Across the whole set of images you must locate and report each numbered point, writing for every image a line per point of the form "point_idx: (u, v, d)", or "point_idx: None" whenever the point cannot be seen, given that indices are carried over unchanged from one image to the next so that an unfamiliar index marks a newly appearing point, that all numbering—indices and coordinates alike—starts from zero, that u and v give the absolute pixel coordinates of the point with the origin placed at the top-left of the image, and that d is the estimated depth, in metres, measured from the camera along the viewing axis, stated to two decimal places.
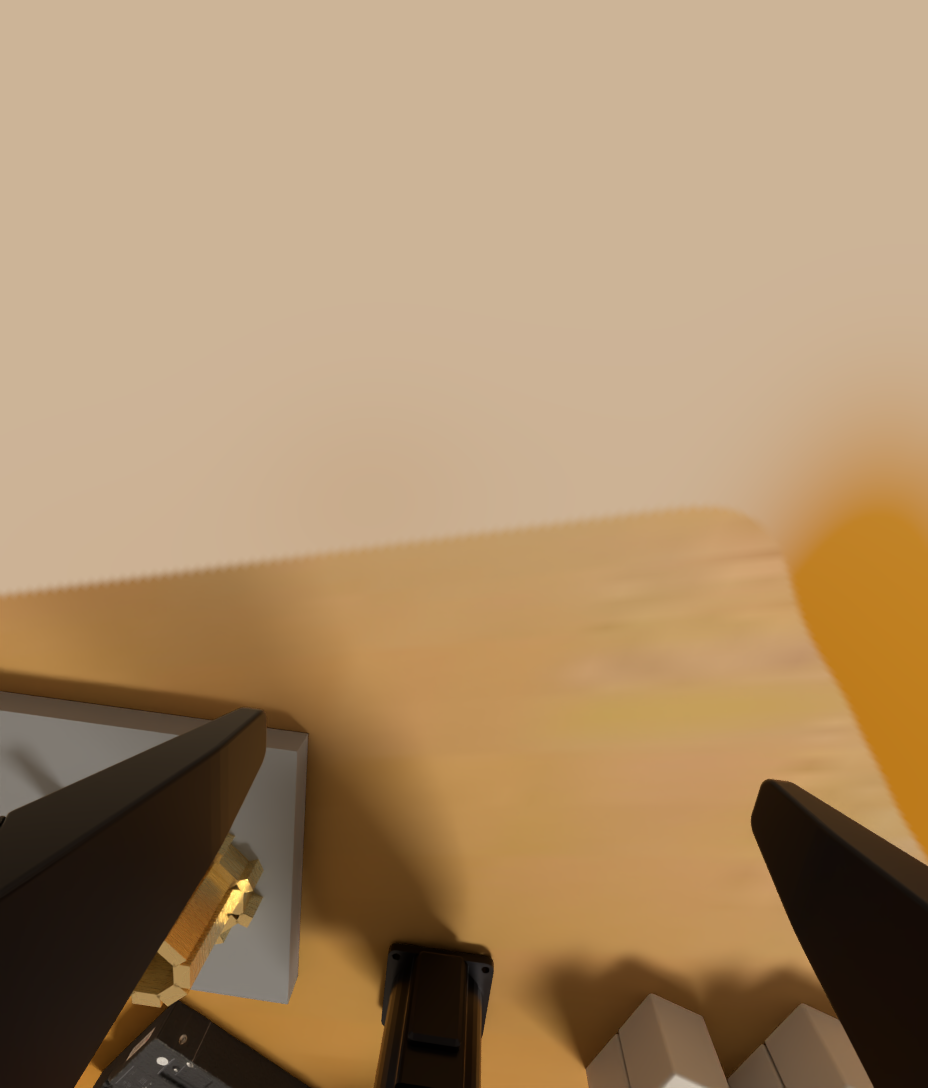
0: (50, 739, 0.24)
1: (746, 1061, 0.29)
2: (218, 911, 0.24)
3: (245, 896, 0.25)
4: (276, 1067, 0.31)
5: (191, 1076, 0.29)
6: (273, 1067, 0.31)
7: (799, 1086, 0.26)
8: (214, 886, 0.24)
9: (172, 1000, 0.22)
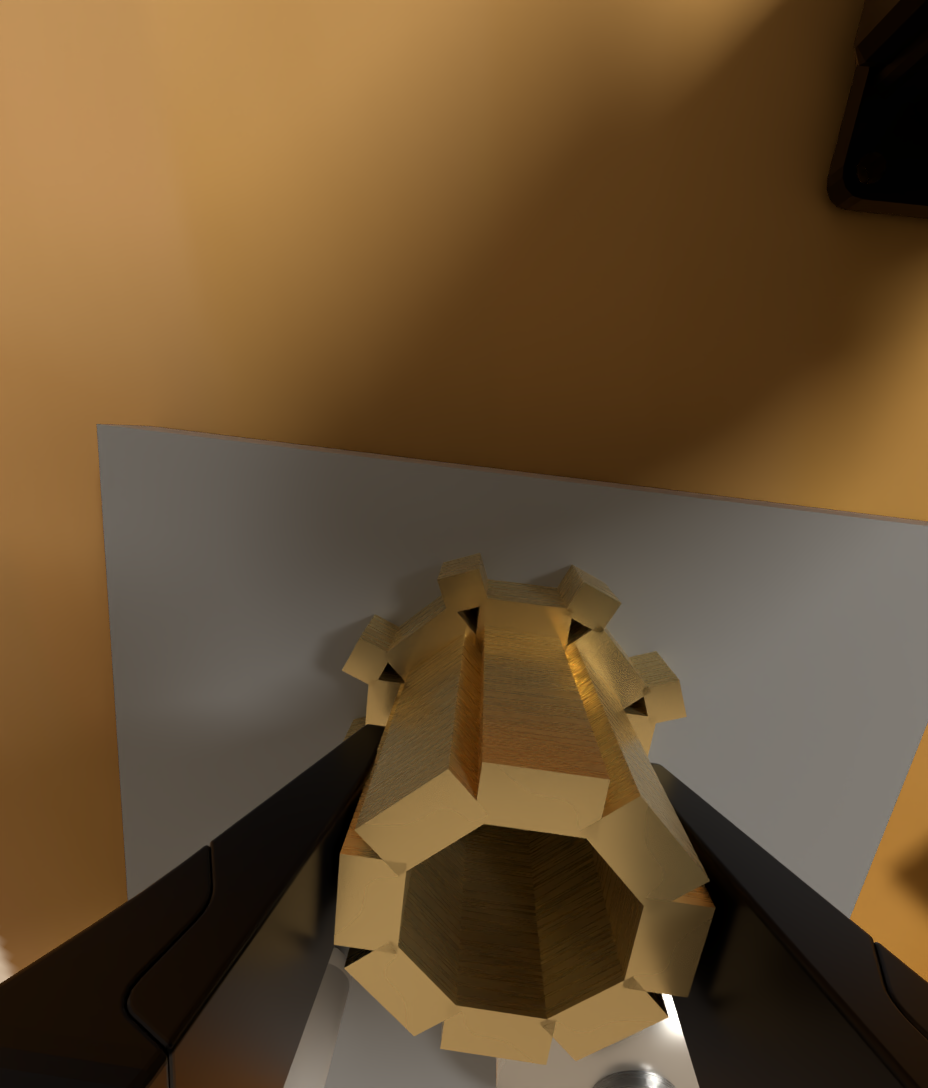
0: None
1: None
2: (484, 662, 0.07)
3: (512, 597, 0.09)
4: None
5: None
6: None
7: None
8: (431, 668, 0.08)
9: (674, 858, 0.05)
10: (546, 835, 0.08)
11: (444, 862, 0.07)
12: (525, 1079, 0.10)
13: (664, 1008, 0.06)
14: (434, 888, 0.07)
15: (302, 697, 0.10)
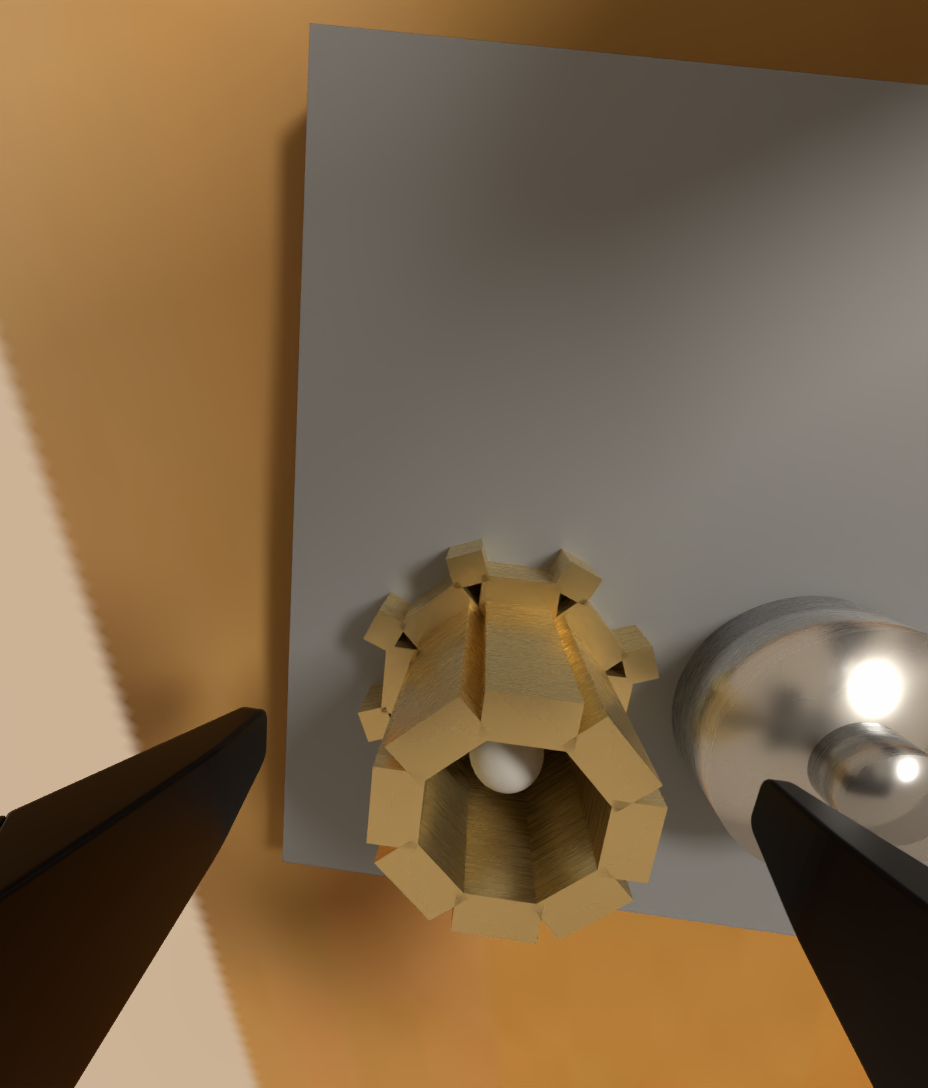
0: (342, 666, 0.12)
1: None
2: (485, 627, 0.09)
3: (510, 576, 0.10)
4: None
5: None
6: None
7: None
8: (441, 634, 0.10)
9: (635, 766, 0.07)
10: (538, 776, 0.10)
11: (453, 793, 0.09)
12: (742, 740, 0.09)
13: (630, 894, 0.07)
14: (445, 810, 0.08)
15: (500, 356, 0.10)
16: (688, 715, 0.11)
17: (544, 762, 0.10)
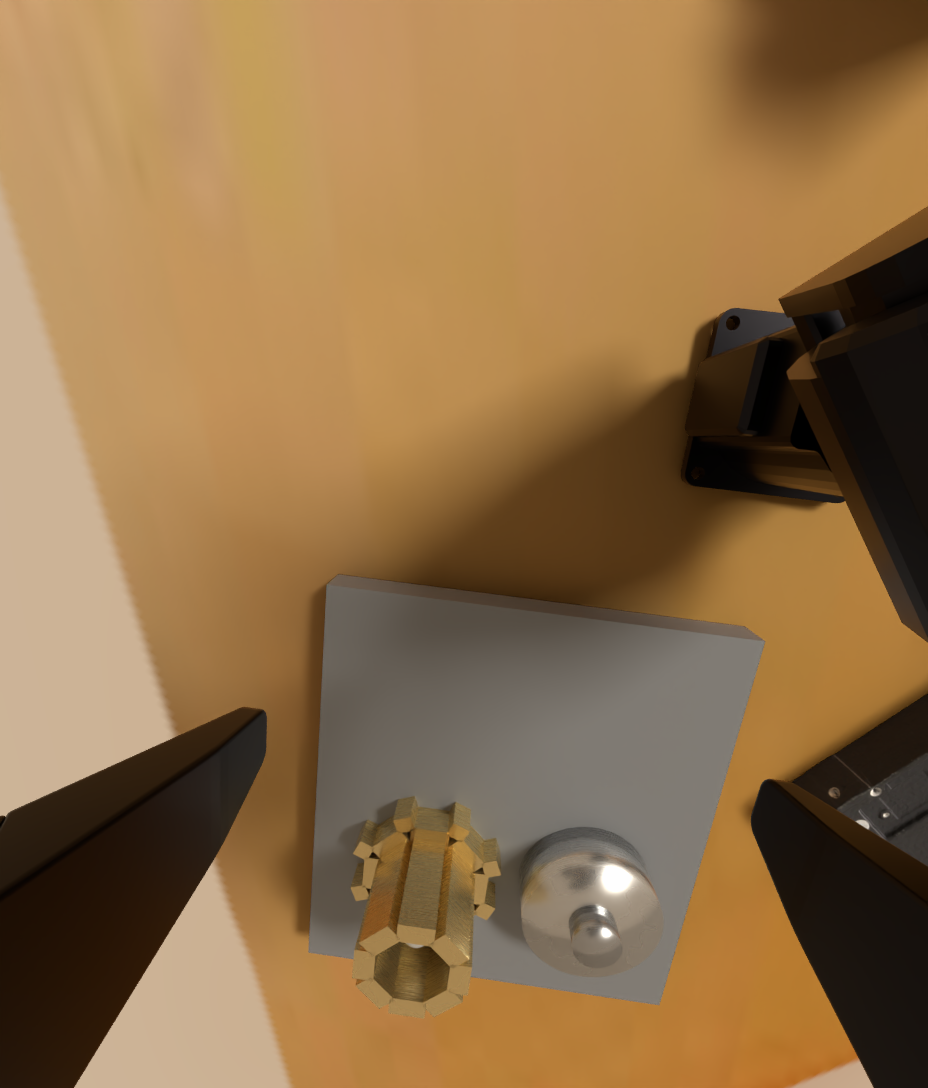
0: (342, 853, 0.22)
1: None
2: (409, 864, 0.19)
3: (425, 826, 0.20)
4: None
5: (906, 797, 0.19)
6: None
7: None
8: (390, 859, 0.20)
9: (457, 952, 0.17)
10: None
11: None
12: (536, 912, 0.20)
13: (461, 999, 0.17)
14: (388, 955, 0.18)
15: (420, 717, 0.20)
16: (520, 889, 0.21)
17: None
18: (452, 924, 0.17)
